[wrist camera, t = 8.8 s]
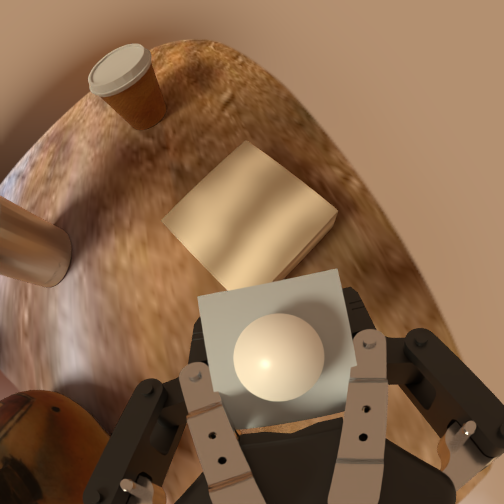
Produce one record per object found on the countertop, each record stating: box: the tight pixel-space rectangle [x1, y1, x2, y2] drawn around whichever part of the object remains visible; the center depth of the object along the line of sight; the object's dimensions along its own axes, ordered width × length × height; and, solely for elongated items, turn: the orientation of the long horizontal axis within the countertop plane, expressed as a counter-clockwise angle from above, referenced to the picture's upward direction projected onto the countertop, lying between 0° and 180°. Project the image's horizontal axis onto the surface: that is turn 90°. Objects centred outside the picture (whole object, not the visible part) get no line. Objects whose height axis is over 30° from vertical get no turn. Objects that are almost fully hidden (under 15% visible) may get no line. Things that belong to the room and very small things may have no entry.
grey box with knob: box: [197, 269, 357, 430], centre depth 13 cm, size 6×6×10 cm
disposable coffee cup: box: [88, 44, 166, 130], centre depth 36 cm, size 10×10×12 cm
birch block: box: [161, 140, 338, 291], centre depth 32 cm, size 13×13×5 cm
